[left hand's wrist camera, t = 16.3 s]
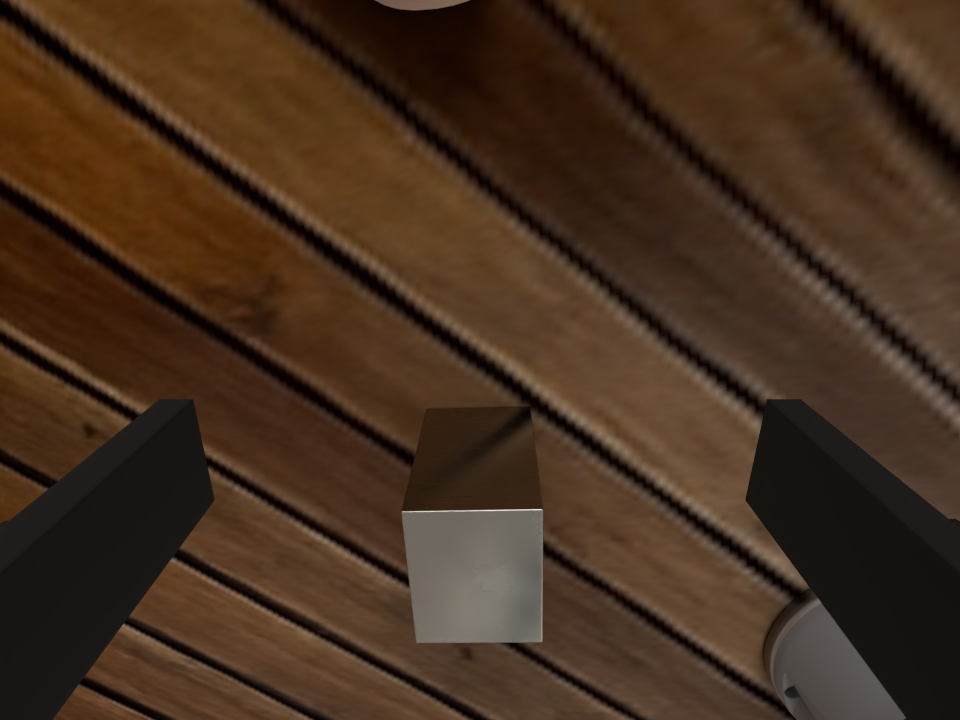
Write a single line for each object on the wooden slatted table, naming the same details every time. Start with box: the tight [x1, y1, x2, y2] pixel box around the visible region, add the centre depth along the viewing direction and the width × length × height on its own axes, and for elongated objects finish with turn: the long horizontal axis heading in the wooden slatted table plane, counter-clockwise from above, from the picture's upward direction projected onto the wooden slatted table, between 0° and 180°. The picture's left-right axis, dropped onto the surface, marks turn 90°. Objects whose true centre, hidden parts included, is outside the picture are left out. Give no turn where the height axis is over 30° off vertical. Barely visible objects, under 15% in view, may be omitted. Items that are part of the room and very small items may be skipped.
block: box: [401, 407, 543, 643], centre depth 31 cm, size 8×6×10 cm
